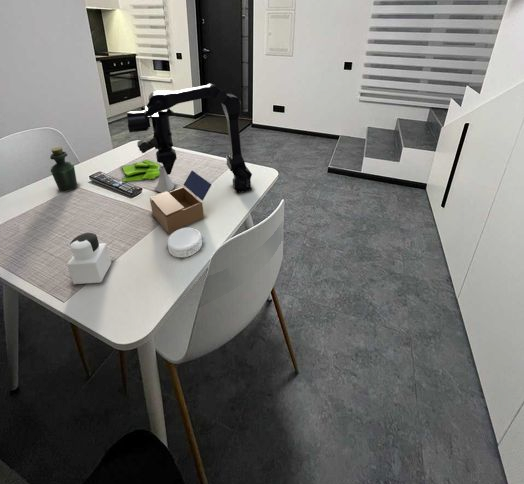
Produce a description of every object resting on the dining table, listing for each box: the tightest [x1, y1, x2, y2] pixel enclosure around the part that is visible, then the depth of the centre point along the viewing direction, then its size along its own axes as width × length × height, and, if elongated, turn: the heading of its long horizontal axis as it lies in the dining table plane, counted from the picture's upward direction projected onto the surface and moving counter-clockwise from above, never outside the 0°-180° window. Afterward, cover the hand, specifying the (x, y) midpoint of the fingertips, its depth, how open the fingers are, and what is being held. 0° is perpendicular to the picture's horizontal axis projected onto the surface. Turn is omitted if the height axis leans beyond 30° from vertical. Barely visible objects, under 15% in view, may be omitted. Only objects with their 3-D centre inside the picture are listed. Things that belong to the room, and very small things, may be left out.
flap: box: [183, 169, 212, 202], centre depth 104 cm, size 6×14×1 cm
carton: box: [149, 186, 205, 235], centre depth 101 cm, size 13×14×7 cm
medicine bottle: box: [66, 232, 112, 285], centre depth 76 cm, size 7×7×12 cm
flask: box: [155, 165, 175, 193], centre depth 118 cm, size 7×7×10 cm
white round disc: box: [167, 227, 203, 259], centre depth 87 cm, size 10×10×4 cm
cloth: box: [121, 159, 161, 182], centre depth 134 cm, size 20×22×2 cm
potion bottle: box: [49, 146, 78, 193], centre depth 117 cm, size 8×8×18 cm
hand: (167, 168), depth 104 cm, fingers open, 9 cm apart
